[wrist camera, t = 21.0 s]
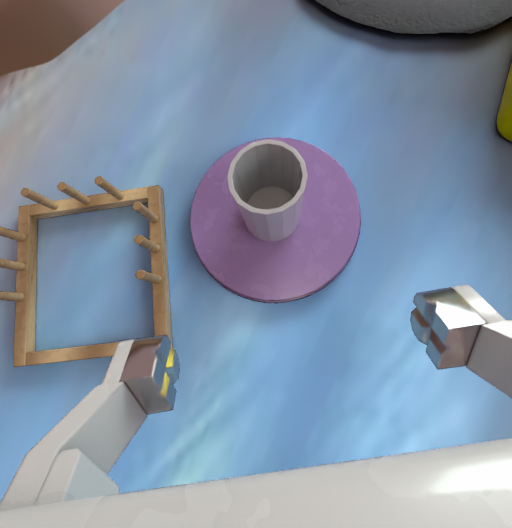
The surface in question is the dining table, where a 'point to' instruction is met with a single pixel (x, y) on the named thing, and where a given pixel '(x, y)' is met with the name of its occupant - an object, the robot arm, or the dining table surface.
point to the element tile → (506, 110)
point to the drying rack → (28, 264)
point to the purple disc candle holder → (283, 251)
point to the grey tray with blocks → (424, 14)
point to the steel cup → (268, 188)
